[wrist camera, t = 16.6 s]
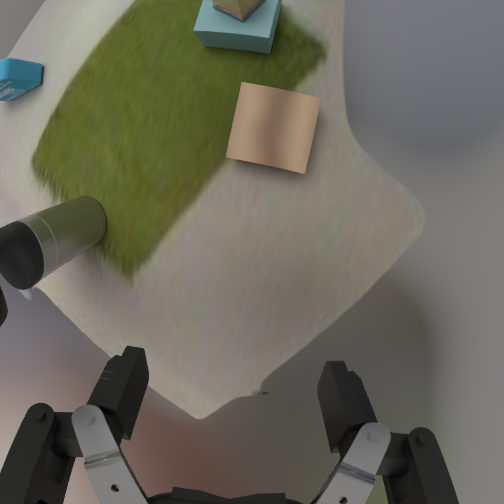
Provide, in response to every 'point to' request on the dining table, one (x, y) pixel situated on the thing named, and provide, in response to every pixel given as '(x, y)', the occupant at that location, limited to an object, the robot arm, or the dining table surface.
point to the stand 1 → (238, 28)
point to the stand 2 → (273, 127)
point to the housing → (237, 8)
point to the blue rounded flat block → (18, 77)
